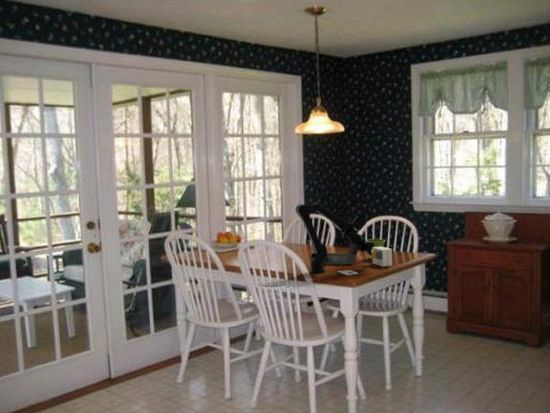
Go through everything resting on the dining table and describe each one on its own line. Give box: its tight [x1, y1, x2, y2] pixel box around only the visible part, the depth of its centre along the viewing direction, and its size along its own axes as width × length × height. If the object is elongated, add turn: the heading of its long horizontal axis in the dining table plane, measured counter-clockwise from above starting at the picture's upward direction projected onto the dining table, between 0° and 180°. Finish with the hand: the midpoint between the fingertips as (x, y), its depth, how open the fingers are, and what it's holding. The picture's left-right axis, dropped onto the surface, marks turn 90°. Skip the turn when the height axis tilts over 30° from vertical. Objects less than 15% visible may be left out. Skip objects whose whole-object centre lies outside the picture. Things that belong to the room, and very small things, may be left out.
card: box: [337, 269, 359, 276], centre depth 309 cm, size 7×10×1 cm
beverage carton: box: [323, 251, 357, 265], centre depth 338 cm, size 8×19×7 cm, turn 80°
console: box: [372, 246, 393, 267], centre depth 329 cm, size 6×11×10 cm, turn 22°
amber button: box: [366, 250, 377, 260], centre depth 330 cm, size 4×3×4 cm
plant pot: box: [365, 238, 386, 260], centre depth 349 cm, size 12×12×11 cm
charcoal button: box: [376, 251, 382, 260], centre depth 326 cm, size 4×3×4 cm
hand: (371, 254), depth 323 cm, fingers closed
